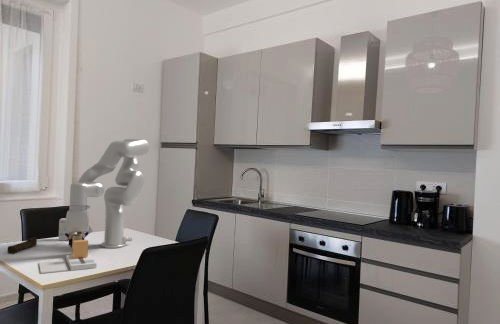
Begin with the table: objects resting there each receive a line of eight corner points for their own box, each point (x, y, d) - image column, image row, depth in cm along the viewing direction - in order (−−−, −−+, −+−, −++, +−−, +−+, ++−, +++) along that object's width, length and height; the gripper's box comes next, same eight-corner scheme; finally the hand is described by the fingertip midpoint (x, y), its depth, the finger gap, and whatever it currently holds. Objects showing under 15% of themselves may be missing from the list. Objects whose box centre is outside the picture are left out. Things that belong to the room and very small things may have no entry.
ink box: (77, 238, 215) (78, 218, 214) (74, 240, 210) (75, 219, 210) (60, 238, 213) (61, 217, 213) (58, 240, 208) (59, 219, 208)
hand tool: (14, 254, 178) (14, 244, 178) (6, 253, 179) (7, 244, 178) (41, 245, 197) (41, 236, 197) (34, 245, 197) (34, 236, 197)
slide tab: (86, 255, 174) (87, 239, 173) (87, 256, 171) (88, 241, 171) (72, 256, 170) (73, 240, 170) (73, 257, 168) (73, 242, 168)
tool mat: (64, 261, 171) (64, 259, 171) (68, 270, 157) (68, 269, 157) (38, 263, 165) (38, 262, 165) (40, 273, 152) (40, 272, 152)
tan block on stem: (79, 245, 185) (80, 233, 185) (83, 252, 173) (84, 239, 173) (70, 246, 183) (71, 234, 183) (74, 253, 171) (74, 240, 171)
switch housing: (89, 257, 178) (89, 253, 178) (96, 267, 163) (96, 263, 163) (66, 259, 173) (66, 255, 173) (70, 270, 158) (71, 265, 158)
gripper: (95, 206, 189) (93, 243, 189) (57, 207, 180) (56, 246, 180) (97, 209, 182) (96, 246, 182) (59, 209, 174) (57, 249, 174)
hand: (76, 246), depth 181 cm, fingers closed on tan block on stem, 4 cm apart
